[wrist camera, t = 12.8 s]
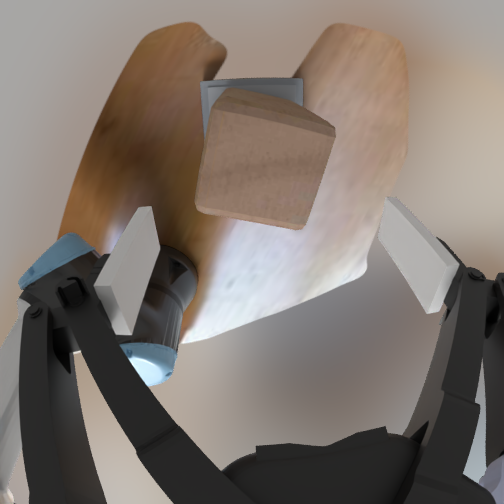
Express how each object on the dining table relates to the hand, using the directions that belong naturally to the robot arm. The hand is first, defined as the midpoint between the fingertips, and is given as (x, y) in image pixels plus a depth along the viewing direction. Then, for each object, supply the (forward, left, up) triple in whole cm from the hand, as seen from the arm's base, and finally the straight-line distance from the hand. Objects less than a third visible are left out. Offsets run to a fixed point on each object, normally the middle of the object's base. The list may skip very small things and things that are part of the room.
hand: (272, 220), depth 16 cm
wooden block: (0, 0, -28) cm, 28 cm away
